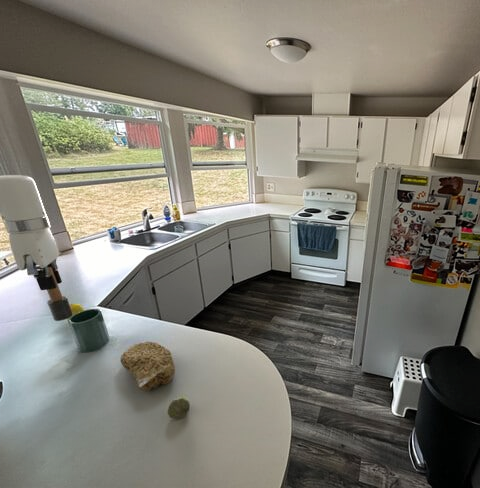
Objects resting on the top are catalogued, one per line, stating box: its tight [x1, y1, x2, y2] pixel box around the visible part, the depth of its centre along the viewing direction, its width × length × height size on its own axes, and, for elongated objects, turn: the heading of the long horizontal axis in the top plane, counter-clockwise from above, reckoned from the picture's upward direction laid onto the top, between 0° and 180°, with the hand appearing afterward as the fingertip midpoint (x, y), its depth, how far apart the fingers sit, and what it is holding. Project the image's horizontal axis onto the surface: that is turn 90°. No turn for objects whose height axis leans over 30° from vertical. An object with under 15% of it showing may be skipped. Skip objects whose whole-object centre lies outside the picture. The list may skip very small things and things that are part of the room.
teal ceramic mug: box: [67, 308, 111, 353], centre depth 88 cm, size 8×8×12 cm
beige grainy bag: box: [120, 341, 176, 392], centre depth 79 cm, size 13×8×20 cm
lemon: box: [66, 303, 85, 320], centre depth 100 cm, size 6×6×8 cm
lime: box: [167, 396, 191, 421], centre depth 66 cm, size 4×5×5 cm
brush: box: [39, 267, 73, 322], centre depth 72 cm, size 4×4×16 cm
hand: (51, 285), depth 71 cm, fingers closed on brush, 2 cm apart
